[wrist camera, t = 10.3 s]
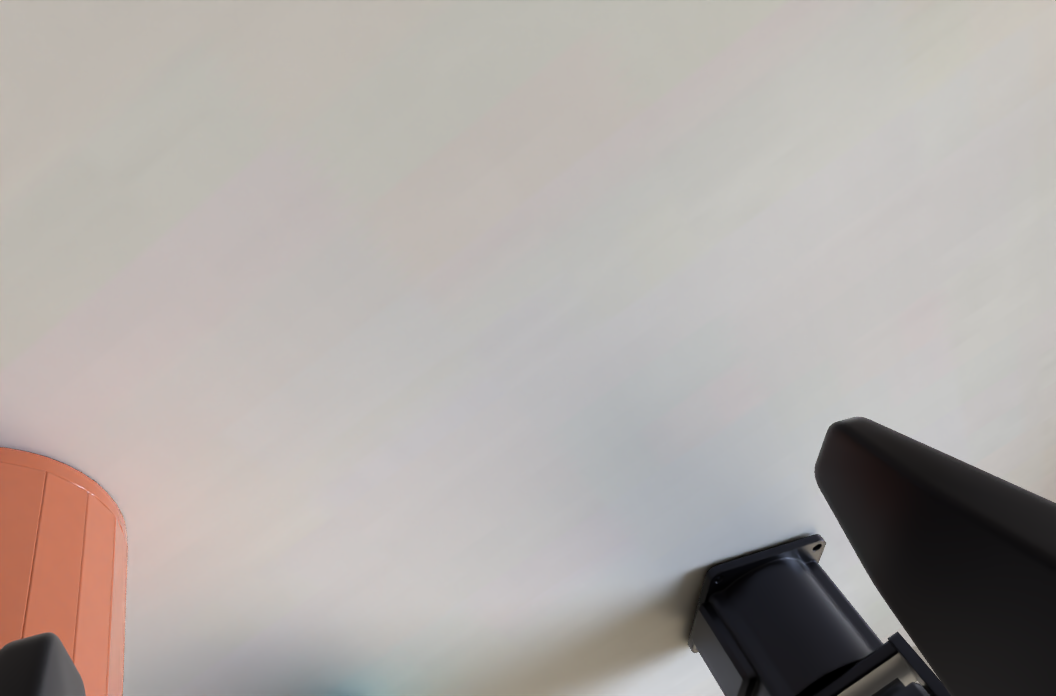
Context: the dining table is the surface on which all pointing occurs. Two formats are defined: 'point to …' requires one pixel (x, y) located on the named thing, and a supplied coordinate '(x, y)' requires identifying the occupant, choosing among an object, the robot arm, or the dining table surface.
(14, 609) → the terracotta cup
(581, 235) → the dining table surface
